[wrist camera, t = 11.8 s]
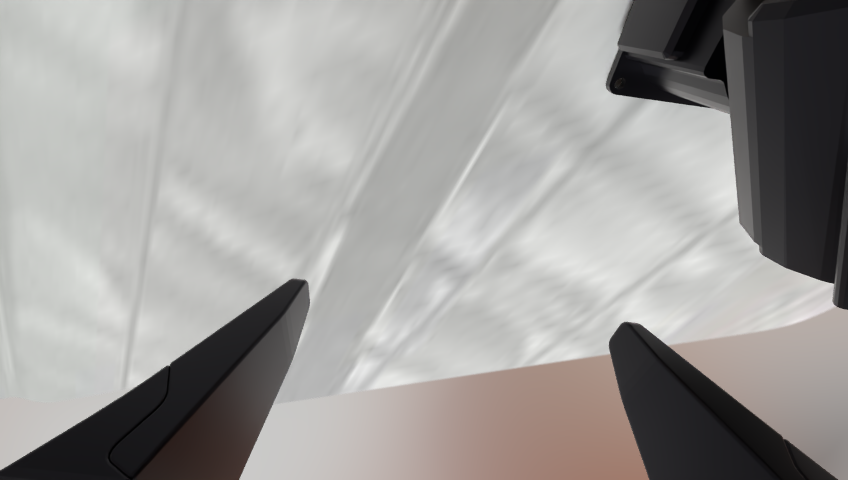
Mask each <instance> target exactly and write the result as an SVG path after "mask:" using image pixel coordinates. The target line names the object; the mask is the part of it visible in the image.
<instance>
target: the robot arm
mask: <svg viewBox="0 0 848 480" xmlns="http://www.w3.org/2000/svg"><path fill="white" fill-rule="evenodd" d="M618 47H619V52H618V54H617V57H616V59H615V62H614V64H613V67H612V69H611V72H610V74H609V77H608V79H607V82H606V88H607V90H608V91H609V92H611V93H613V94H616V95H623V96H630V97H637V98H644V99H651V100H658V101H665V102H672V103H679V104H686V105H693V106H700V107H707V108H714V109H717V110H719V111H722V112H725V113H728V114H730V117H731V128H732V140H733V152H734V163H735V175H736V186H737V198H738V210H739V221H740V224H741V225H742V227H743V228H744V229H745V230H746V232H747V233H748V234H749V236H750V237H751V238H752V239H753V241H754V242H756V243H757V244H758V245H759V250H760V253H761V254H762V255H763V256H765V257H767V258H769V259H771V260H772V261H774V262H776V263H778V264H779V265H781V266H783V267H785V268H787V269H790V270H793V271H796V272H799V273H801V274H804V275H807V276H810V277H813V278H815V279H818V280H821V281H825V282H829V283H833V284H834V292H833V304H834V305H836V306H837V307H839V308H842V309H847V310H848V0H634V3H633V5H632V8H631V10H630V13H629V15H628V18H627V20H626V23H625V26H624V28H623V31H622V33H621V36H620V38H619V41H618ZM619 78H622V83H621V85H620V86H618V87H616V88H615V82H616V81H617V80H618V79H619ZM309 305H310V298H309V287H308V282H307V281H306V280H301V279H291V280H289V281H288V282H286V283H285V284H283V285H282V286H280V287H279V288H278V289H276V290H275V291H273V292H272V293H270V294H269V295H268V296H266V297H265V298H263V299H262V300H260V301H259V302H257V303H256V304H255V305H253V306H252V307H250V308H249V309H247V310H246V311H245V312H243V313H242V314H240V315H239V316H237V317H236V318H235V319H233V320H232V321H230V322H229V323H227V324H226V325H225V326H223V327H222V328H220V329H219V330H217V331H216V332H215V333H213V334H212V335H210V336H209V337H207V338H206V339H205V340H203V341H202V342H200V343H199V344H197V345H196V346H195V347H193V348H192V349H190V350H189V351H187V352H186V353H185V354H183V355H182V356H180V357H179V358H177V359H176V360H175V361H173V362H172V363H171V364H170V366H166V367H164V368H163V369H161V370H160V371H159V372H157V373H156V374H154V375H153V376H151V377H150V378H149V379H147V380H146V381H144V382H143V383H141V384H140V385H138V386H137V387H135V388H134V389H132V390H131V391H129V392H128V393H126V394H125V395H123V396H122V397H120V398H118V399H117V400H115V401H114V402H112V403H110V404H109V405H107V406H106V407H104V408H102V409H101V410H99V411H98V412H96V413H94V414H93V415H91V416H90V417H88V418H87V419H85V420H83V421H81V422H80V423H78V424H76V425H75V426H73V427H72V428H70V429H68V430H67V431H65V432H63V433H62V434H60V435H58V436H57V437H55V438H53V439H52V440H50V441H48V442H47V443H45V444H43V445H42V446H40V447H39V448H37V449H35V450H34V451H32V452H30V453H29V454H27V455H25V456H24V457H22V458H20V459H19V460H17V461H15V462H14V463H12V464H11V465H9V466H7V467H5V468H4V469H2V470H0V480H239V478H240V476H241V474H242V472H243V469H244V467H245V465H246V463H247V460H248V458H249V456H250V454H251V451H252V449H253V447H254V445H255V442H256V441H257V438H258V436H259V434H260V432H261V429H262V427H263V425H264V423H265V420H266V418H267V416H268V414H269V411H270V409H271V407H272V405H273V403H274V400H275V398H276V396H277V394H278V392H279V389H280V387H281V385H282V383H283V380H284V378H285V376H286V374H287V371H288V369H289V367H290V365H291V362H292V360H293V357H294V354H295V351H296V348H297V345H298V342H299V338H300V335H301V332H302V329H303V326H304V323H305V319H306V316H307V313H308V310H309ZM609 349H610V354H611V358H612V362H613V366H614V370H615V374H616V379H617V383H618V387H619V391H620V395H621V399H622V402H623V405H624V408H625V411H626V414H627V417H628V420H629V423H630V425H631V428H632V431H633V434H634V437H635V440H636V443H637V446H638V448H639V451H640V454H641V457H642V460H643V463H644V466H645V469H646V471H647V474H648V477H649V480H838V479H836V478H835V477H834V476H832V475H831V474H830V473H829V472H827V471H826V470H825V469H823V468H822V467H821V466H820V465H818V464H817V463H815V462H814V461H813V460H812V459H810V458H809V457H808V456H806V455H805V454H804V453H803V452H801V451H800V450H799V449H798V448H796V447H795V446H794V445H793V444H791V443H790V442H789V441H788V440H786V439H783V437H782V436H781V435H780V434H779V433H777V432H776V431H775V430H774V429H772V428H771V427H770V426H768V425H767V424H766V423H765V422H763V421H762V420H761V419H759V418H758V417H757V416H755V414H753V413H752V412H750V411H749V410H748V409H747V408H746V407H744V406H743V405H742V404H741V403H739V402H738V401H737V400H736V399H734V398H733V397H732V396H730V395H729V394H728V393H727V392H725V391H724V390H723V389H722V388H720V387H719V386H718V385H716V384H715V383H714V382H713V381H711V380H710V379H709V378H708V377H706V376H705V375H704V374H702V373H701V372H700V371H699V370H698V369H696V368H695V367H694V366H692V365H691V364H690V363H689V362H687V361H686V360H685V359H683V358H682V357H681V356H680V355H679V354H677V353H676V352H675V351H673V350H672V349H671V348H670V347H668V346H667V345H666V344H665V343H663V342H662V341H661V340H660V339H658V338H657V337H656V336H654V335H653V334H652V333H651V332H649V331H648V330H647V329H646V328H644V327H643V326H642V325H640V324H638V323H631V322H623V323H622V324H621V325H620V326H619V327H618V329H617V330H616V332H615V333H614V334H613V336H612V337H611V339H610V341H609Z"/></svg>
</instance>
